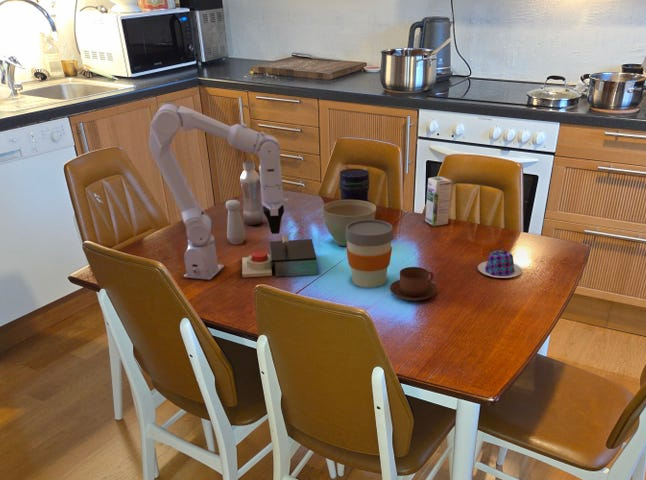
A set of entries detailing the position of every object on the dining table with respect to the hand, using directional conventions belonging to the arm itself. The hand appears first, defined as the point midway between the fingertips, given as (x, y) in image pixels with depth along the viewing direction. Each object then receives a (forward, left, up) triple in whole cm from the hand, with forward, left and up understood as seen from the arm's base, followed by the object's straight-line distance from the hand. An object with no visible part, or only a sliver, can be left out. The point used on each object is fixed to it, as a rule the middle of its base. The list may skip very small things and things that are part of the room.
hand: (275, 232), depth 177 cm
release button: (-2, +4, -8) cm, 9 cm away
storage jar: (+46, -11, -10) cm, 49 cm away
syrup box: (+46, -39, -10) cm, 62 cm away
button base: (-2, +5, -10) cm, 12 cm away
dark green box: (+2, -4, -10) cm, 11 cm away
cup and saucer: (-10, -40, -10) cm, 43 cm away
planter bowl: (+23, -15, -10) cm, 30 cm away
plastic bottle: (+32, +20, -10) cm, 39 cm away
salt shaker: (+15, +19, -10) cm, 26 cm away
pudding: (+10, -61, -10) cm, 63 cm away
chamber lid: (+2, -4, -6) cm, 7 cm away
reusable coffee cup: (-4, -27, -10) cm, 29 cm away
